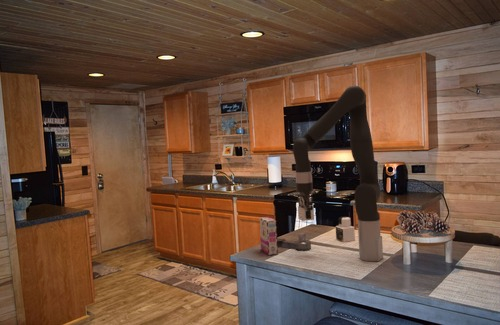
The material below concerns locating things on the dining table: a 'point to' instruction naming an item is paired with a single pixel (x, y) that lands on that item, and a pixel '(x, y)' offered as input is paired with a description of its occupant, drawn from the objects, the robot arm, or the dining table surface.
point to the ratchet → (296, 243)
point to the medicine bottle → (345, 230)
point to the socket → (304, 213)
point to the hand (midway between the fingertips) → (306, 217)
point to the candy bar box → (268, 235)
